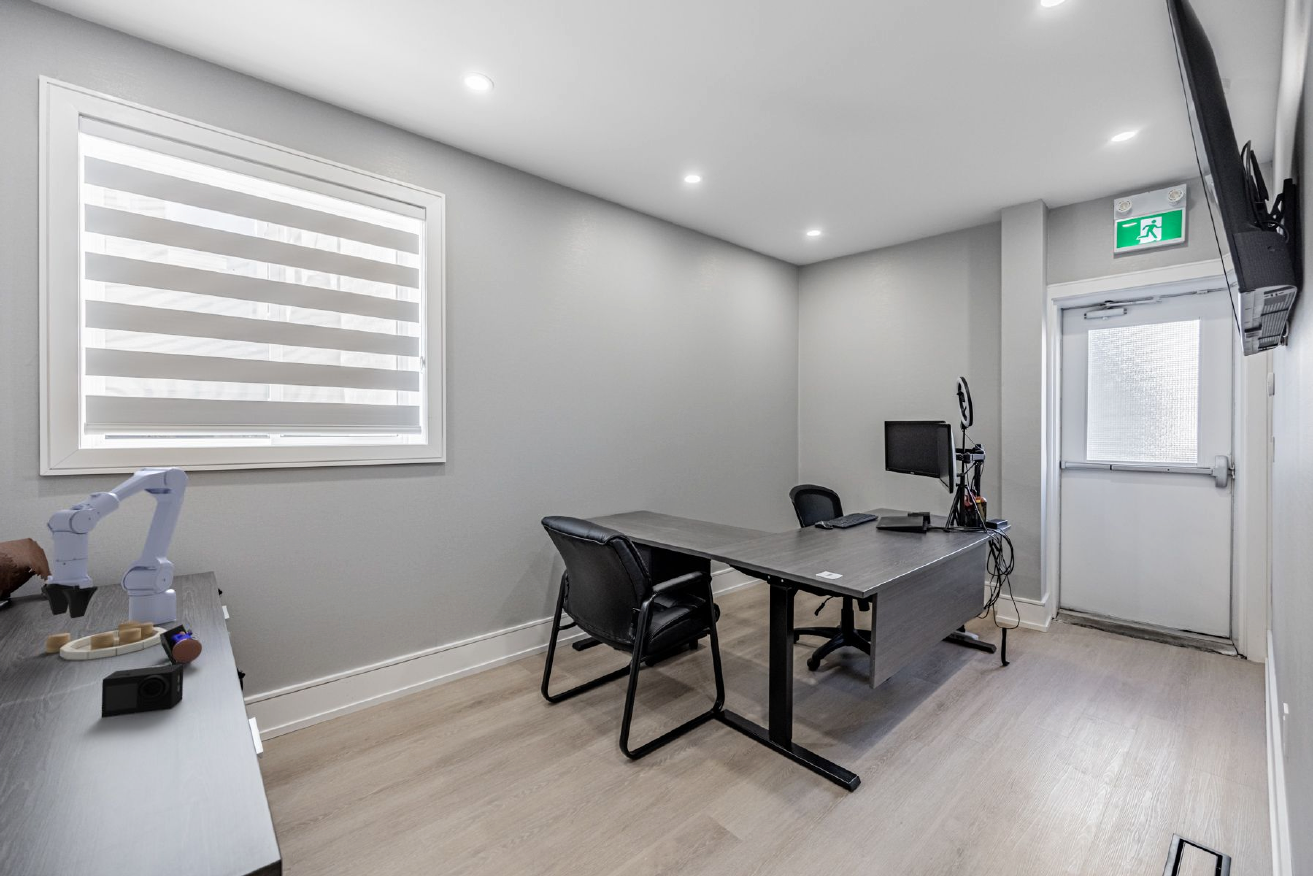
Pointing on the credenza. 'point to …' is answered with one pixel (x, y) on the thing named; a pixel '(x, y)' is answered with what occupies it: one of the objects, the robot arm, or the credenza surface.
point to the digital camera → (142, 690)
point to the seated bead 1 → (102, 641)
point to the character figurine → (180, 645)
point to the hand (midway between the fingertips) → (68, 615)
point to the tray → (83, 646)
